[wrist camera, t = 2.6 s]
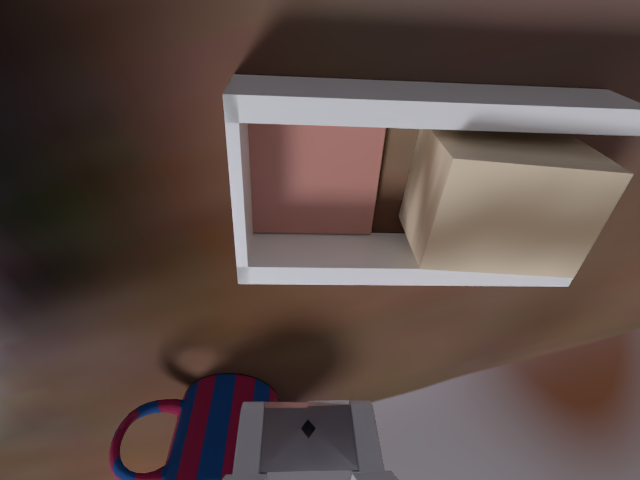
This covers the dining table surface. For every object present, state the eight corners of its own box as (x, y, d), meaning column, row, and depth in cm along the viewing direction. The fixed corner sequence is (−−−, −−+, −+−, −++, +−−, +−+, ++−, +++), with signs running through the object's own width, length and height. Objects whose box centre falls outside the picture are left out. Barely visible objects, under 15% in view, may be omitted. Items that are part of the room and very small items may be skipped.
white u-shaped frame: (233, 74, 17) (222, 94, 14) (607, 89, 18) (657, 110, 15) (244, 246, 22) (238, 283, 19) (539, 250, 23) (568, 286, 20)
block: (421, 118, 18) (453, 158, 15) (568, 132, 19) (633, 173, 15) (397, 214, 21) (419, 269, 17) (526, 223, 22) (573, 277, 18)
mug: (249, 439, 32) (239, 542, 26) (122, 397, 28) (78, 506, 23) (298, 393, 29) (298, 499, 23) (162, 340, 25) (123, 449, 20)
